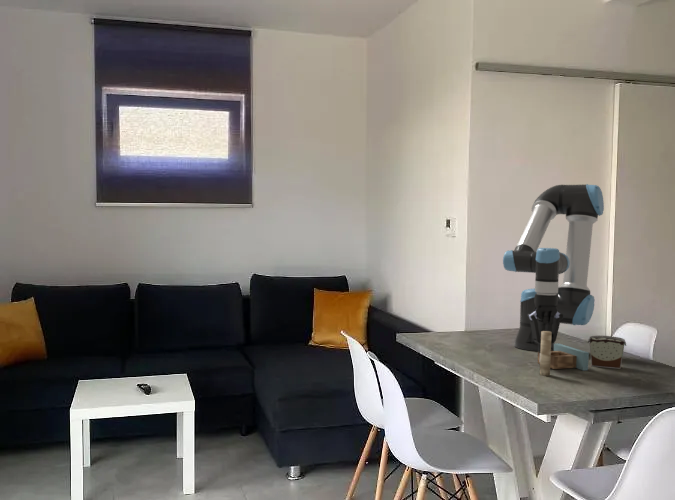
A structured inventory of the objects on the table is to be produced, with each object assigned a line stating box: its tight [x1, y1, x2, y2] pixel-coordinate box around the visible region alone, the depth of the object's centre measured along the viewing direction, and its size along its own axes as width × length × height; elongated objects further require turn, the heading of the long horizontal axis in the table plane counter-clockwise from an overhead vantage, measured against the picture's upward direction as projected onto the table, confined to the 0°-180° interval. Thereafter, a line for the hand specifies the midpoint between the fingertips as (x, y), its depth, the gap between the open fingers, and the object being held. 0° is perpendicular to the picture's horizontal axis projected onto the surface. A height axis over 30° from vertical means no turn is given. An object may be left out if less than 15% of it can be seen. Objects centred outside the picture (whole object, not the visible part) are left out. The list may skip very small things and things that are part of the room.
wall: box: [553, 342, 590, 372], centre depth 236 cm, size 2×16×6 cm, turn 19°
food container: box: [587, 335, 627, 370], centre depth 236 cm, size 12×6×10 cm, turn 71°
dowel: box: [539, 331, 552, 377], centre depth 221 cm, size 3×3×14 cm
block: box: [537, 350, 577, 370], centre depth 234 cm, size 9×9×4 cm
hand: (543, 362), depth 233 cm, fingers closed
